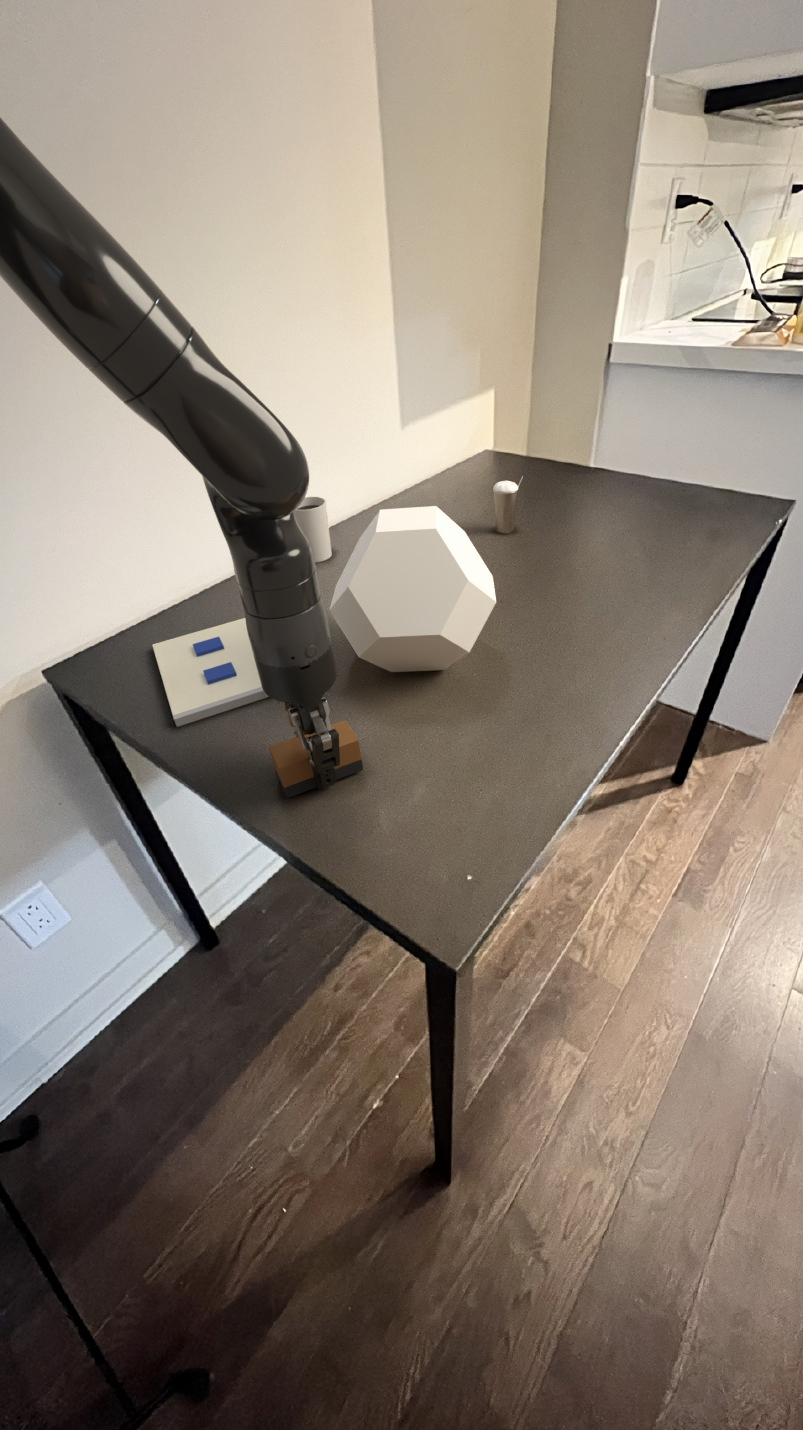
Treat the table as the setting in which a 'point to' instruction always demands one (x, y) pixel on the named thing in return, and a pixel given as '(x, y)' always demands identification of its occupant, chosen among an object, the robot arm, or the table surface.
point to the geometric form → (413, 592)
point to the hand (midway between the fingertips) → (319, 771)
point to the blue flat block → (208, 646)
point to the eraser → (296, 765)
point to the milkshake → (505, 505)
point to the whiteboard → (188, 680)
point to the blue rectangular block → (219, 673)
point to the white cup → (315, 526)
